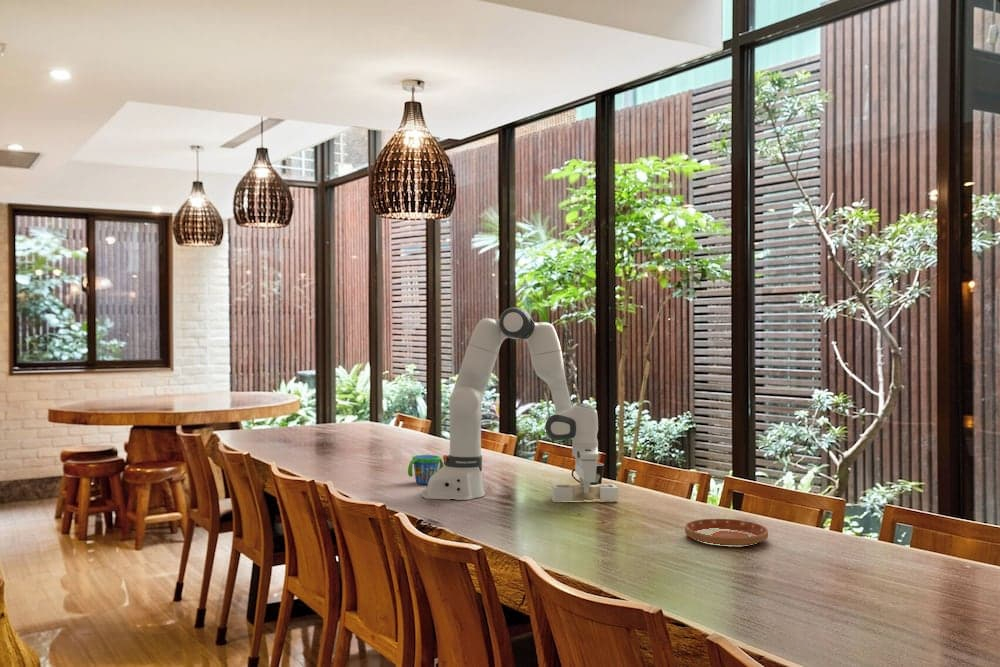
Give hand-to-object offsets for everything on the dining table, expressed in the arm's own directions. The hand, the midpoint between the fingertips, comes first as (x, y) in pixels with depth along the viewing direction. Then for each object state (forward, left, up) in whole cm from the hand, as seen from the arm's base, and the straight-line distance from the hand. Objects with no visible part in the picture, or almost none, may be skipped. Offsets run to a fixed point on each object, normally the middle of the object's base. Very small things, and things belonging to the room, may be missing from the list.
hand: (584, 491), depth 294 cm
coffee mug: (+4, +16, -4) cm, 17 cm away
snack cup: (-55, +33, -4) cm, 64 cm away
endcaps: (0, 0, -3) cm, 3 cm away
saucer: (+31, -55, -4) cm, 63 cm away
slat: (0, 0, -3) cm, 3 cm away
